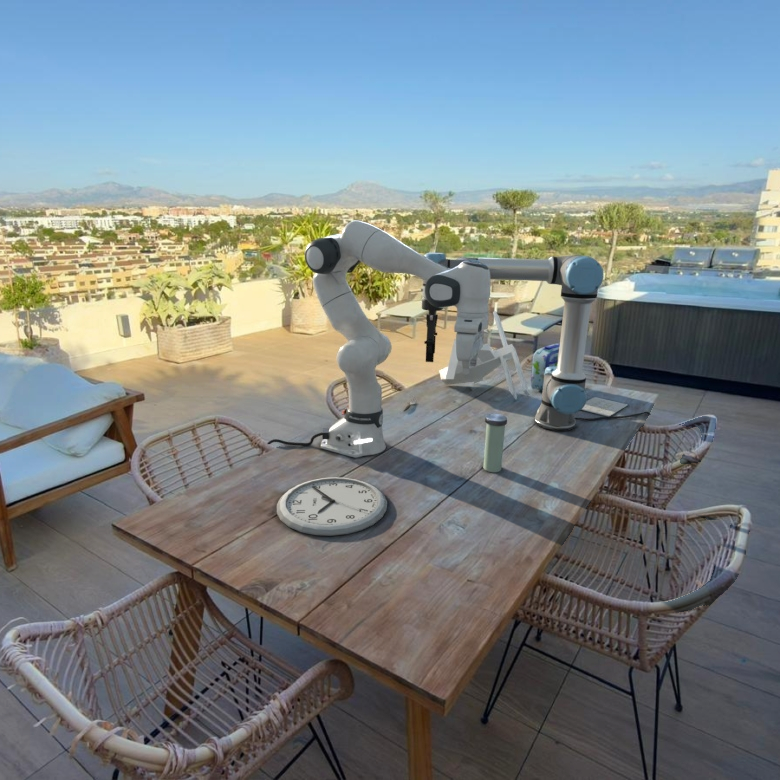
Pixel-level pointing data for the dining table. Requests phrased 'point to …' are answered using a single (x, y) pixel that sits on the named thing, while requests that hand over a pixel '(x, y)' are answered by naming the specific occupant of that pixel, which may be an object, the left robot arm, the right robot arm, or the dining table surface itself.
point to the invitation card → (603, 406)
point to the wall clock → (331, 506)
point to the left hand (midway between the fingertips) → (469, 369)
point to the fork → (411, 403)
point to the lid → (496, 420)
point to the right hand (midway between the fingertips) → (430, 357)
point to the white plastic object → (485, 364)
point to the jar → (493, 448)
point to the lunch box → (543, 364)
